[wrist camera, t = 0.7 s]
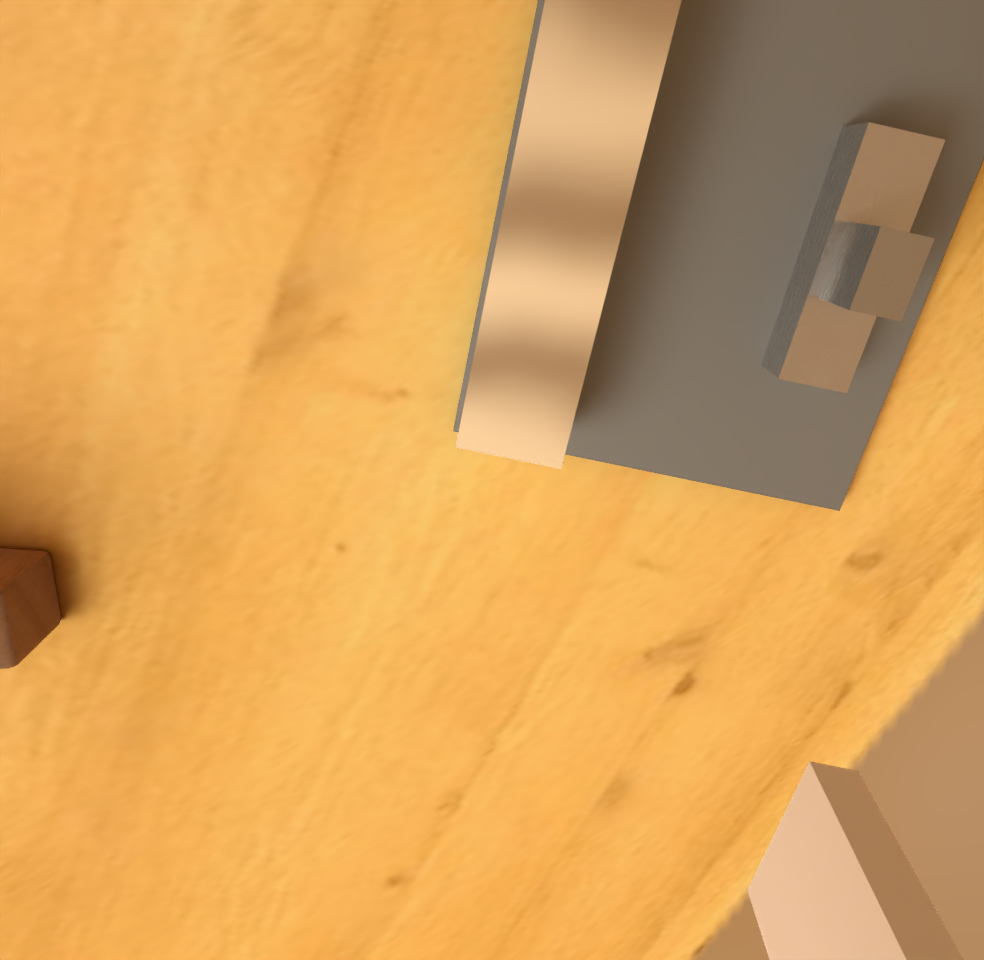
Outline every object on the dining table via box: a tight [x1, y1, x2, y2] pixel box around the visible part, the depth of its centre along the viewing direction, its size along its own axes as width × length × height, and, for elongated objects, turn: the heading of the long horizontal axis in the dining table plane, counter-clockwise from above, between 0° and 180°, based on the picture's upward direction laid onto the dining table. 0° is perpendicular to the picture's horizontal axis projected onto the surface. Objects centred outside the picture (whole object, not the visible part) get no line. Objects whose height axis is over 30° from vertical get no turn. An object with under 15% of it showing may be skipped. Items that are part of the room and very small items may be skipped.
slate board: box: [453, 0, 984, 511], centre depth 33 cm, size 22×19×1 cm
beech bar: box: [456, 0, 682, 469], centre depth 30 cm, size 20×4×5 cm, turn 168°
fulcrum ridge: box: [761, 122, 945, 393], centre depth 30 cm, size 10×3×6 cm, turn 168°
